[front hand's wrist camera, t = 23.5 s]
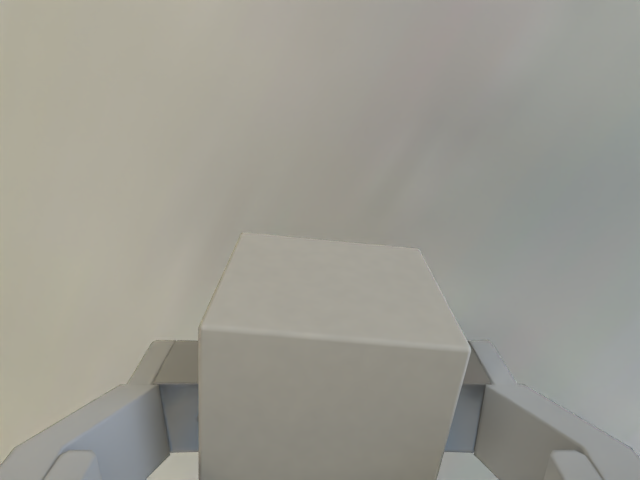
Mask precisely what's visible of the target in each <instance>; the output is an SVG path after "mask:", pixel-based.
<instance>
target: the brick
mask: <svg viewBox="0 0 640 480" xmlns="http://www.w3.org/2000/svg"><path fill="white" fill-rule="evenodd" d="M470 354H471V347H470V345H469V343H468V341H467V339H466V338H465V336H464V334H463V332H462V330H461V328H460V326H459V324H458V322H457V320H456V318H455V316H454V315H453V313H452V311H451V309H450V307H449V305H448V303H447V301H446V299H445V297H444V295H443V293H442V292H441V290H440V288H439V286H438V284H437V282H436V280H435V278H434V276H433V274H432V272H431V270H430V268H429V267H428V265H427V263H426V261H425V259H424V257H423V255H422V253H421V251H420V250H419V249H417V248H407V247H396V246H386V245H375V244H364V243H353V242H343V241H332V240H321V239H310V238H299V237H289V236H278V235H267V234H256V233H246V232H243V233H241V235H240V237H239V239H238V241H237V243H236V246H235V248H234V250H233V252H232V254H231V257H230V259H229V261H228V263H227V265H226V268H225V270H224V272H223V274H222V276H221V279H220V281H219V283H218V285H217V287H216V290H215V292H214V294H213V296H212V299H211V301H210V303H209V305H208V307H207V310H206V312H205V314H204V316H203V318H202V321H201V323H200V325H199V327H198V386H199V480H437V476H438V472H439V468H440V465H441V461H442V457H443V454H444V450H445V446H446V443H447V439H448V435H449V431H450V428H451V424H452V420H453V417H454V413H455V409H456V406H457V402H458V398H459V394H460V391H461V387H462V383H463V380H464V376H465V372H466V369H467V365H468V361H469V358H470Z"/></svg>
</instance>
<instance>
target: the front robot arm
mask: <svg viewBox="0 0 640 480" xmlns="http://www.w3.org/2000/svg"><path fill="white" fill-rule="evenodd" d="M468 343H469V345H470V347H471V354H470V358H469V361H468V365H467V369H466V372H465V376H464V380H463V383H462V387H461V391H460V394H459V398H458V402H457V406H456V409H455V413H454V417H453V420H452V424H451V428H450V431H449V435H448V439H447V443H446V446H445V450H444V452H471V453H474V455H475V456H476V457H477V458H478V459H479V460H480V461H481V462H482V463H483V464H484V465H485V466H486V467H487V468H488V469H489V470H490V471H491V472H492V473H493V474H494V475H495V476H496V477H497V478H498V479H499V480H640V458H639V457H638V455H637V454H636V453H635V452H634V450H633V449H632V448H630V447H629V446H627V445H625V444H624V443H622V442H620V441H618V440H617V439H615V438H613V437H612V436H610V435H608V434H607V433H605V432H603V431H602V430H600V429H598V428H597V427H595V426H593V425H592V424H590V423H588V422H586V421H585V420H583V419H581V418H580V417H578V416H576V415H575V414H573V413H571V412H570V411H568V410H566V409H565V408H563V407H561V406H560V405H558V404H556V403H554V402H553V401H551V400H549V399H548V398H546V397H544V396H543V395H541V394H539V393H538V392H536V391H534V390H533V389H531V388H529V387H528V386H526V385H518V384H517V382H516V381H515V379H514V378H513V376H512V374H511V373H510V371H509V370H508V368H507V366H506V365H505V363H504V362H503V360H502V358H501V357H500V355H499V354H498V352H497V350H496V349H495V347H494V346H493V344H492V342H490V341H489V340H473V341H468ZM173 452H199V386H198V341H183V340H177V341H175V340H156V341H154V342H152V343H151V345H150V346H149V348H148V350H147V351H146V353H145V355H144V356H143V358H142V360H141V361H140V363H139V365H138V366H137V368H136V370H135V371H134V373H133V375H132V376H131V378H130V380H129V381H128V383H127V385H119V386H117V387H115V388H114V389H112V390H110V391H109V392H107V393H105V394H104V395H102V396H100V397H99V398H97V399H95V400H93V401H92V402H90V403H88V404H87V405H85V406H83V407H82V408H80V409H78V410H77V411H75V412H73V413H72V414H70V415H68V416H67V417H65V418H63V419H62V420H60V421H58V422H57V423H55V424H53V425H52V426H50V427H48V428H47V429H45V430H43V431H42V432H40V433H38V434H37V435H35V436H33V437H32V438H30V439H28V440H26V441H25V442H23V443H21V444H20V445H18V446H16V447H15V448H14V449H13V450H12V451H11V452H10V454H9V455H8V456H7V457H6V459H5V460H4V461H3V463H2V464H1V465H0V480H145V479H146V478H147V477H148V476H149V475H150V474H151V473H152V472H153V471H154V470H155V469H156V468H157V467H158V466H159V465H160V464H161V463H162V462H163V461H164V460H165V459H166V458H167V457H168V456H169V455H170V453H173Z"/></svg>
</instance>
